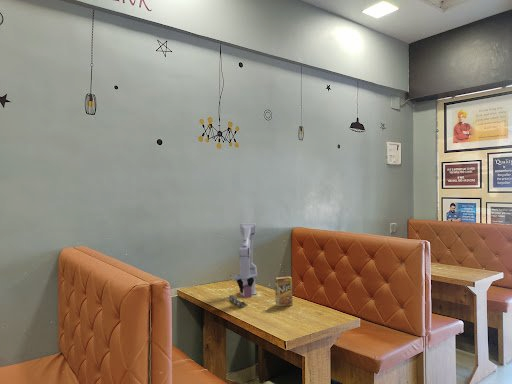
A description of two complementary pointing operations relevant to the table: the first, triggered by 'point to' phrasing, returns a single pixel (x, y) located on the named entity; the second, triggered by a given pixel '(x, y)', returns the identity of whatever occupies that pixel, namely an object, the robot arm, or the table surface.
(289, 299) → the candy box
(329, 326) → the table surface
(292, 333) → the table surface
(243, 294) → the carton
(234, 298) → the price rail
